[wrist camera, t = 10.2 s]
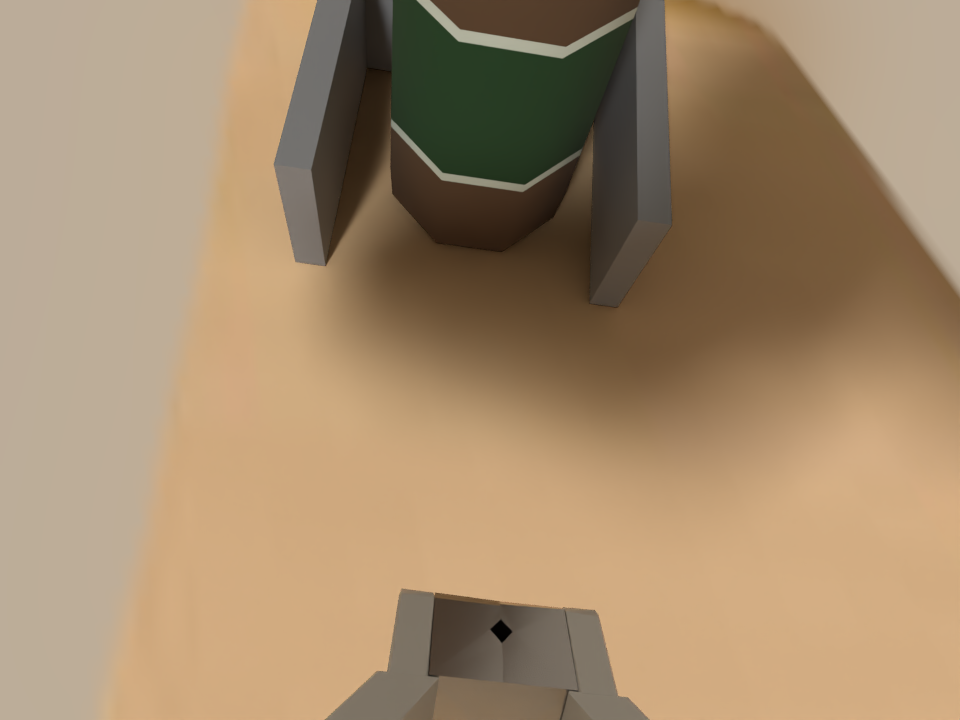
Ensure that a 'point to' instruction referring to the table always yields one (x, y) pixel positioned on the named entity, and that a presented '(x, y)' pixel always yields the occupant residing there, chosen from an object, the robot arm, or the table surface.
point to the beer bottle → (495, 109)
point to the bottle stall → (616, 141)
